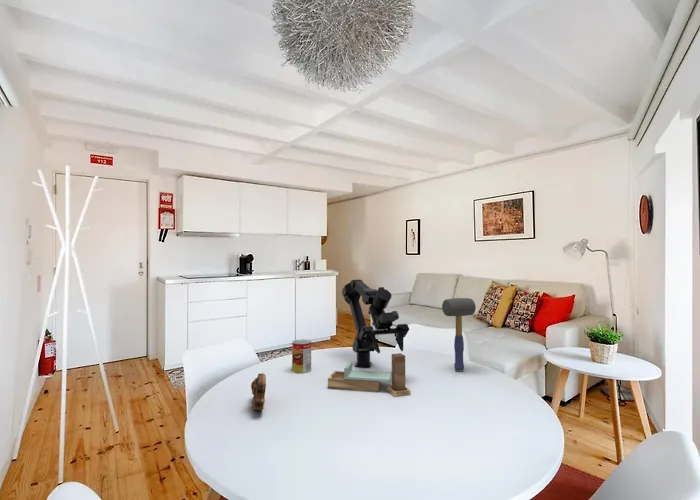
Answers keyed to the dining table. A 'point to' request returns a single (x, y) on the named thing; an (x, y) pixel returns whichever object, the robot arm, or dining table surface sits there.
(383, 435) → the dining table surface
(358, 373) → the lid
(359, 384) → the wooden tray
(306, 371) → the canned food
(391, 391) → the frame
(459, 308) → the rubber mallet
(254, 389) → the wooden carving
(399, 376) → the brown block
